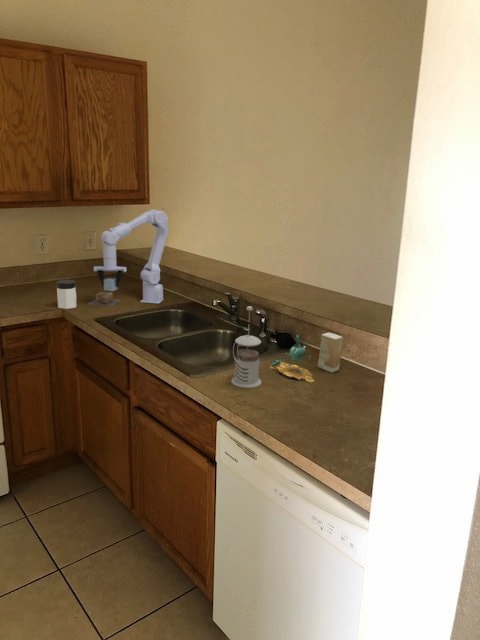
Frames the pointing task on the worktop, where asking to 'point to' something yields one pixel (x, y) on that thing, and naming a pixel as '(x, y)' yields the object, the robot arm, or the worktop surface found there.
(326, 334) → the skincare box
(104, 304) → the mat
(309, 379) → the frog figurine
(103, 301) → the tan cardboard box
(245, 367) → the french press
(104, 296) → the slab upper
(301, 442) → the worktop surface
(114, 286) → the blue cube
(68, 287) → the jar
